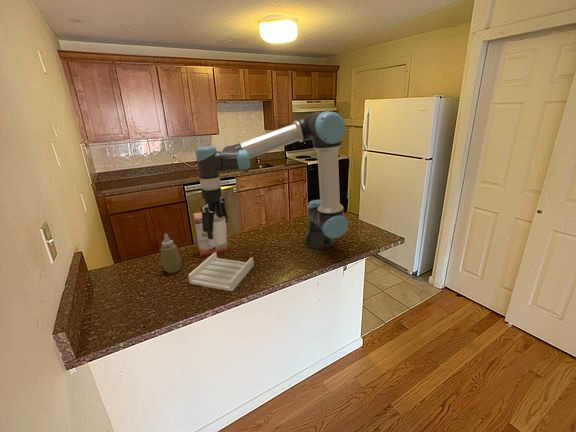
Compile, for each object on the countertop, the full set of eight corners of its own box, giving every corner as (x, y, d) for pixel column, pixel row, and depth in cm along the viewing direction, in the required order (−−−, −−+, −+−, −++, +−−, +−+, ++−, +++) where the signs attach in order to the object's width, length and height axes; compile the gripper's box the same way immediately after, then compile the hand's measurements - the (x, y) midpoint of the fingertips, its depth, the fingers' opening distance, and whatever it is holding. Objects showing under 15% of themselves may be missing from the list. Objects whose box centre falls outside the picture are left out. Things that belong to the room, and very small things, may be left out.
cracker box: (200, 256, 137) (193, 216, 130) (199, 251, 143) (192, 212, 135) (228, 250, 142) (223, 212, 135) (226, 245, 147) (221, 208, 140)
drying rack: (253, 265, 127) (253, 257, 126) (232, 291, 110) (231, 282, 108) (215, 260, 133) (214, 252, 132) (189, 283, 116) (188, 274, 114)
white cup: (230, 237, 119) (227, 215, 116) (224, 245, 112) (221, 222, 108) (212, 237, 120) (209, 215, 116) (205, 245, 113) (202, 222, 109)
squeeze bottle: (186, 266, 129) (179, 231, 122) (174, 276, 121) (166, 239, 115) (172, 264, 131) (164, 229, 125) (159, 273, 124) (151, 237, 118)
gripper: (216, 181, 118) (223, 230, 126) (186, 194, 100) (196, 251, 108) (232, 181, 116) (238, 232, 124) (204, 195, 98) (212, 253, 106)
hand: (218, 241), depth 116 cm, fingers closed on white cup, 7 cm apart
